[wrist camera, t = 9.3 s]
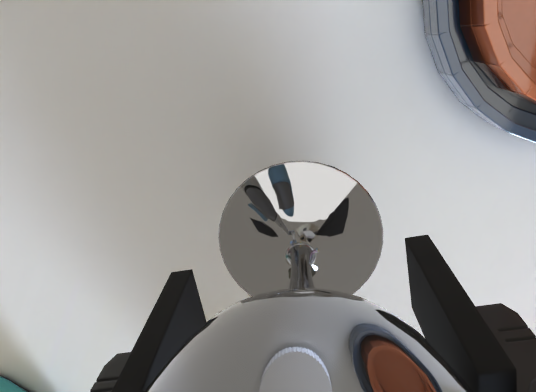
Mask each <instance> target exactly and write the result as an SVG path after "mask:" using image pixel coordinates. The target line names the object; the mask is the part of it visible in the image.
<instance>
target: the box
mask: <svg viewBox="0 0 536 392" xmlns="http://www.w3.org/2000/svg"><path fill="white" fill-rule="evenodd" d="M0 392H28V391H26V390H24V389H23V388H21V387H19V386H18V385H16V384H14V383H13V382H11V381H10V380H8V379H6V378H3V377H1V376H0Z"/></svg>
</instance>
